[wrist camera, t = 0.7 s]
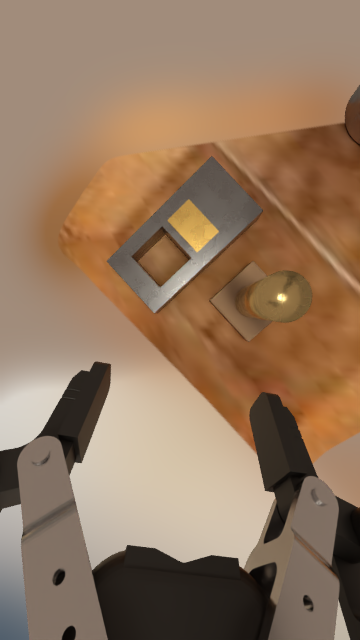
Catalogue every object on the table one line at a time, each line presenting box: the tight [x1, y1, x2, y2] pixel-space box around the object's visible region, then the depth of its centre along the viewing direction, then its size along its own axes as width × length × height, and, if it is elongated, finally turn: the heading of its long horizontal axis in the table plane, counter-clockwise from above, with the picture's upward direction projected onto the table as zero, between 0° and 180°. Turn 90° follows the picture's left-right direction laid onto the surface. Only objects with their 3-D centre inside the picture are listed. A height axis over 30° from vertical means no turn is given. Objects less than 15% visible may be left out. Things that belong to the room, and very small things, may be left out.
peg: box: [235, 271, 312, 323], centre depth 24 cm, size 4×4×12 cm
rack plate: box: [107, 156, 263, 313], centre depth 31 cm, size 20×10×3 cm, turn 133°
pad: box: [210, 261, 272, 342], centre depth 31 cm, size 8×8×2 cm
